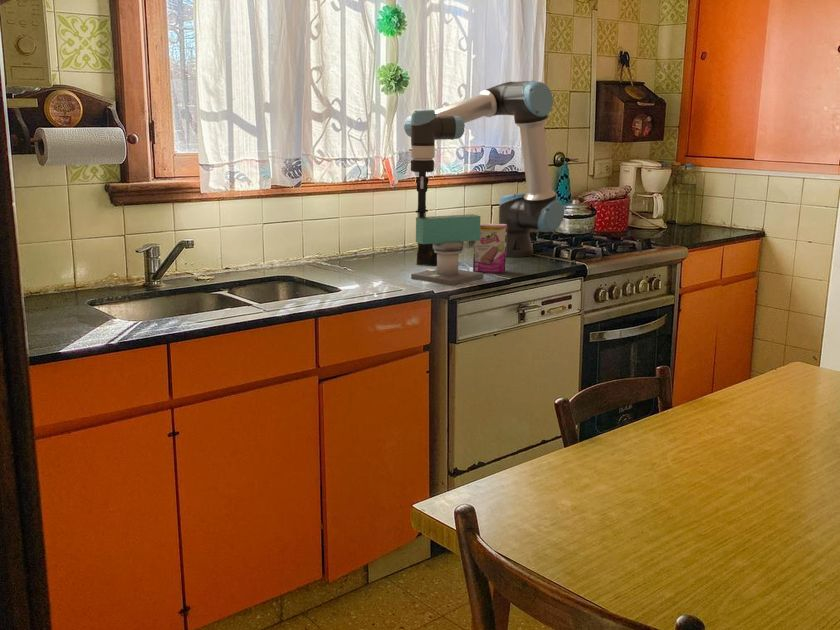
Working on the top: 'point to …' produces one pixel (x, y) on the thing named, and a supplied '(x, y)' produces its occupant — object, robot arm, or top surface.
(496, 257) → the candy bar box
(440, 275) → the post base
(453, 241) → the teal boxy piece
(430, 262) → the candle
